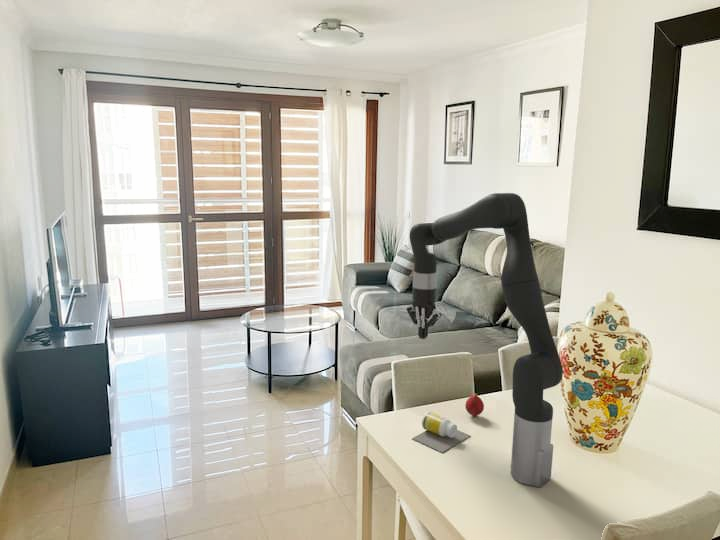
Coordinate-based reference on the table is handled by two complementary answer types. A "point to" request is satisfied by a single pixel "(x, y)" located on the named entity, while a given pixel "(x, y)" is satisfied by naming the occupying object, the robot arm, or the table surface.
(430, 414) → the supplement bottle
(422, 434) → the mat
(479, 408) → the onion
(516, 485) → the table surface
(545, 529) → the table surface
